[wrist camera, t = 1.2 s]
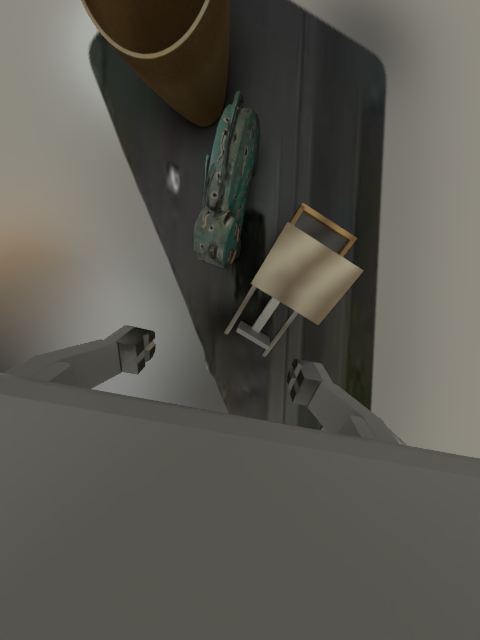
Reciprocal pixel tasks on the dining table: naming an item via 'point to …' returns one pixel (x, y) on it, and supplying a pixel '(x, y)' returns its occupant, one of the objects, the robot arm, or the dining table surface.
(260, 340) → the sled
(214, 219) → the green backpack
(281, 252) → the tunnel
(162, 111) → the dining table surface
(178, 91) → the plant pot
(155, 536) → the robot arm
